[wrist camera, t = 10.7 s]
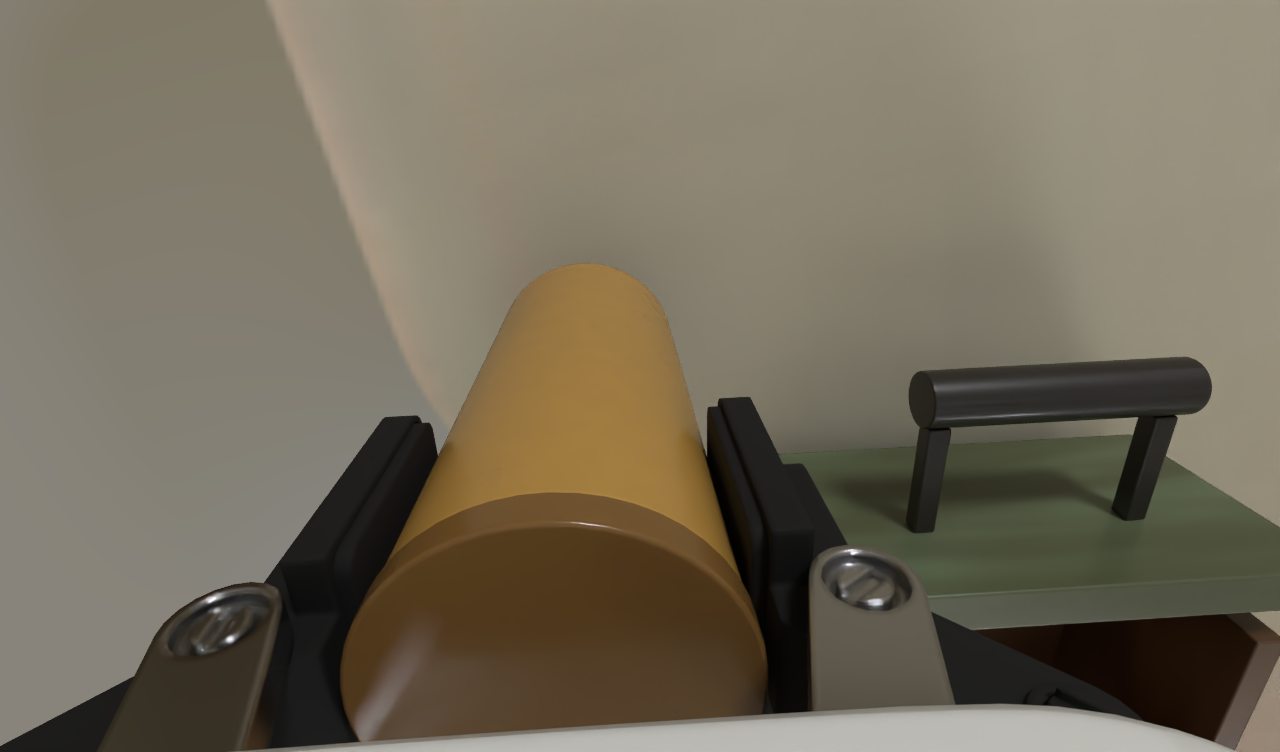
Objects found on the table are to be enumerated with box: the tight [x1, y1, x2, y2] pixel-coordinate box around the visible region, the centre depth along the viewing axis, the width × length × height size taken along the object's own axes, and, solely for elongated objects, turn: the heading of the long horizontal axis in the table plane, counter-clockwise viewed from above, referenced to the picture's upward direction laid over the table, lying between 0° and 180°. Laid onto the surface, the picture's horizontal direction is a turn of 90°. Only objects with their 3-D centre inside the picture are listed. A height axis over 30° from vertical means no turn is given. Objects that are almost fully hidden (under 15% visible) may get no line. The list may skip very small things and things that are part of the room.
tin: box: [340, 263, 769, 742], centre depth 13 cm, size 5×5×12 cm
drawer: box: [778, 357, 1280, 750], centre depth 20 cm, size 18×13×7 cm
